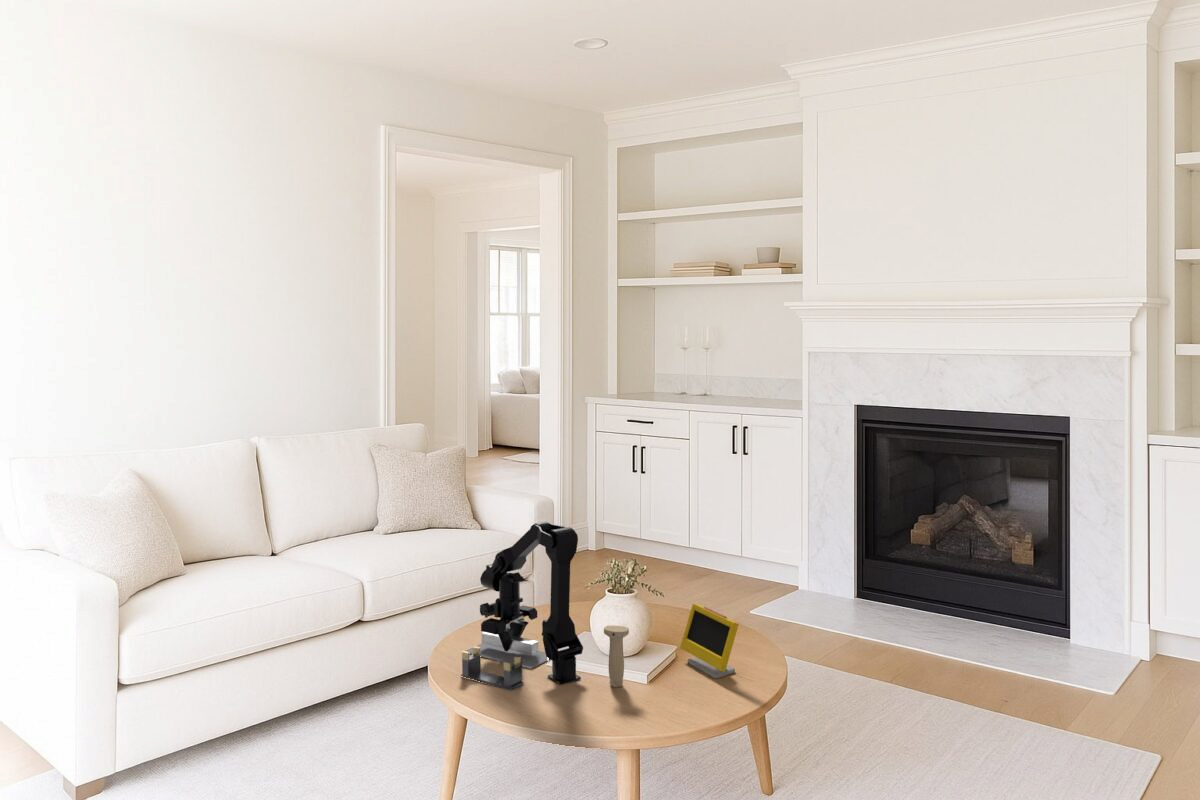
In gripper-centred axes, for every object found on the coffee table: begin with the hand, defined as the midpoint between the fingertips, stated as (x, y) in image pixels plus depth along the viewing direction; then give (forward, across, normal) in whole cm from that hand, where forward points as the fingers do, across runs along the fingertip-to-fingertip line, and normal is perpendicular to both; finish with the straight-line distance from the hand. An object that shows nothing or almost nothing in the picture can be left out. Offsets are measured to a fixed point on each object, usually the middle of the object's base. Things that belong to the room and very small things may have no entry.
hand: (510, 649), depth 267 cm
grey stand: (+2, +18, +8) cm, 20 cm away
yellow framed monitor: (+2, -21, +52) cm, 57 cm away
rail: (0, 0, 0) cm, 1 cm away
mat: (+2, 0, 0) cm, 2 cm away
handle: (+2, +3, +37) cm, 37 cm away
